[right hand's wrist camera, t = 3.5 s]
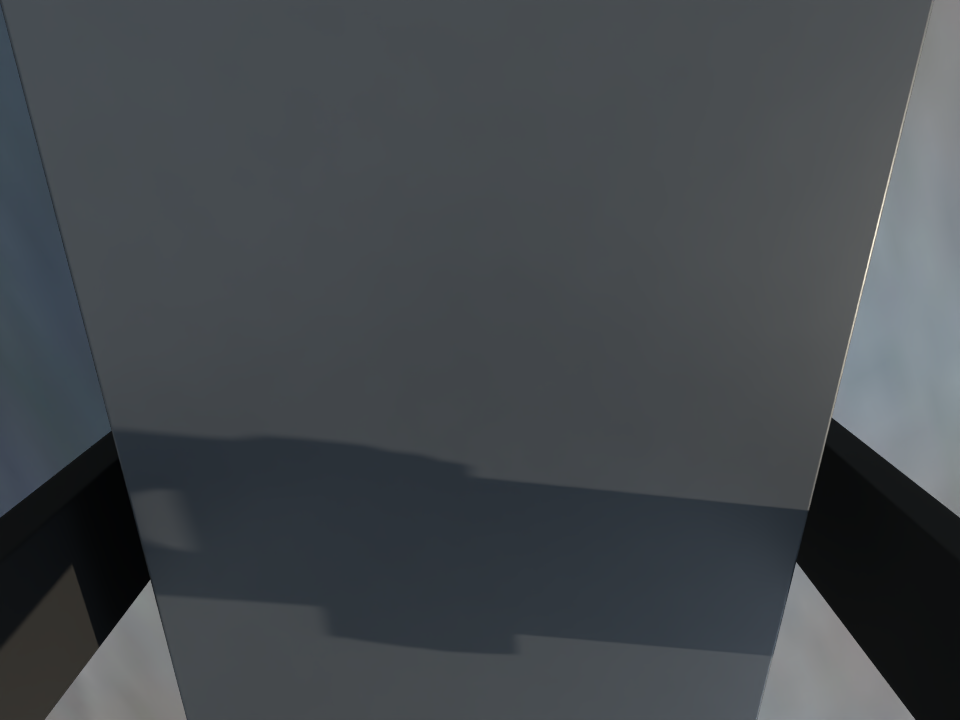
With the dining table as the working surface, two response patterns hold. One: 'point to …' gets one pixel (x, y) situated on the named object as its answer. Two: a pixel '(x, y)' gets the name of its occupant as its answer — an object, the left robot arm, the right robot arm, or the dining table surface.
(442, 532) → the wide beam
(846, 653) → the dining table surface
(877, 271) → the dining table surface
